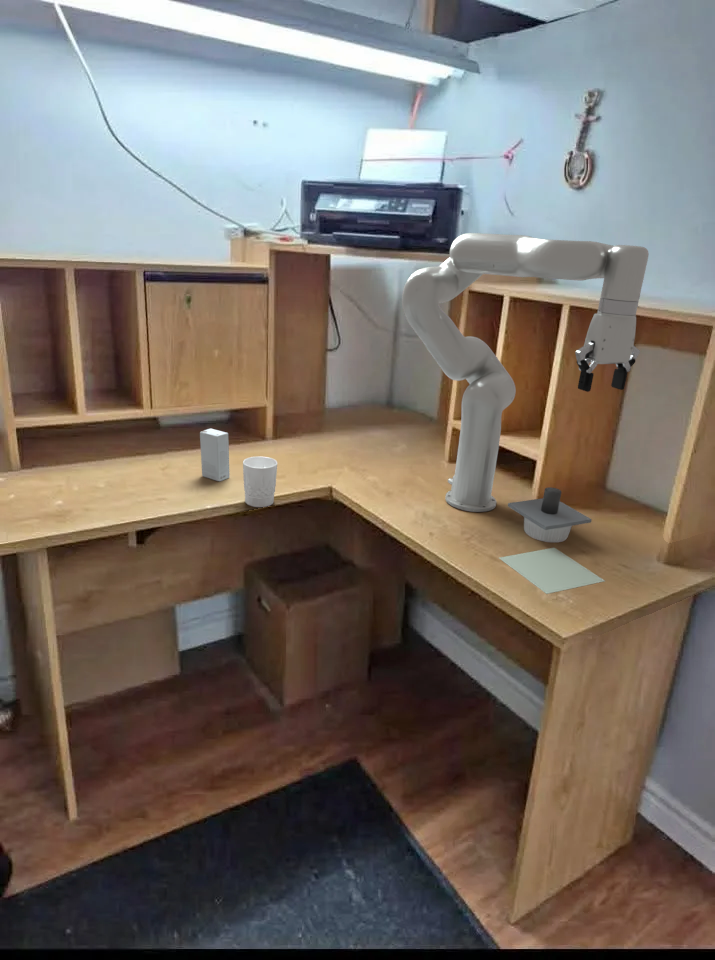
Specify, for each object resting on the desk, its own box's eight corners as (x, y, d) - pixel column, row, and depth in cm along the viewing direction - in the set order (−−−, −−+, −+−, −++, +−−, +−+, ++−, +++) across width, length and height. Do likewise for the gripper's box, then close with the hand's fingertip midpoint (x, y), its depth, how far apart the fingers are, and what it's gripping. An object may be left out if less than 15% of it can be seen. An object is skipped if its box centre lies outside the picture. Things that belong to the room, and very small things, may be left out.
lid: (507, 506, 153) (511, 482, 150) (551, 500, 158) (556, 477, 156) (545, 530, 142) (549, 505, 140) (591, 522, 147) (596, 498, 145)
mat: (498, 559, 138) (498, 557, 138) (553, 549, 145) (554, 547, 145) (546, 596, 126) (546, 593, 126) (604, 583, 132) (605, 580, 132)
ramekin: (531, 547, 146) (535, 525, 144) (512, 524, 156) (516, 504, 154) (579, 546, 148) (583, 525, 146) (557, 524, 158) (561, 504, 156)
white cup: (266, 511, 153) (267, 470, 149) (236, 504, 155) (236, 463, 152) (282, 499, 160) (283, 460, 156) (253, 492, 162) (253, 454, 159)
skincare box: (230, 477, 170) (230, 432, 166) (218, 482, 167) (218, 436, 162) (212, 471, 173) (211, 427, 169) (200, 476, 169) (199, 431, 165)
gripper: (633, 306, 145) (617, 383, 151) (572, 305, 137) (558, 386, 143) (661, 311, 138) (643, 391, 144) (599, 310, 131) (582, 395, 137)
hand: (600, 389), depth 144 cm, fingers open, 9 cm apart
